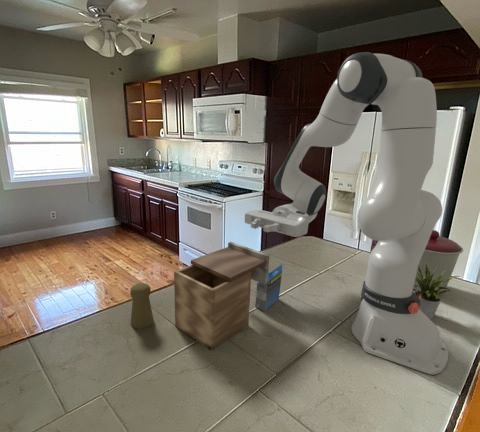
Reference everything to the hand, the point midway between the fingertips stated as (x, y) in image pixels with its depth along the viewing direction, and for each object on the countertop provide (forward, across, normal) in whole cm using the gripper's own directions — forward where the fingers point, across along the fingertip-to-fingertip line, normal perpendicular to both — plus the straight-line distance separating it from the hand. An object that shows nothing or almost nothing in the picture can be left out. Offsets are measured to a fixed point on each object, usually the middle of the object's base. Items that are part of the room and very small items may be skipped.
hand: (258, 227), depth 92 cm
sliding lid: (+12, 0, +14) cm, 18 cm away
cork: (+31, -15, +24) cm, 42 cm away
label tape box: (-1, +4, +24) cm, 25 cm away
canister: (-49, +37, +24) cm, 66 cm away
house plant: (-29, +40, +24) cm, 55 cm away
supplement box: (-54, +20, +24) cm, 63 cm away
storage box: (+19, 0, +24) cm, 30 cm away
